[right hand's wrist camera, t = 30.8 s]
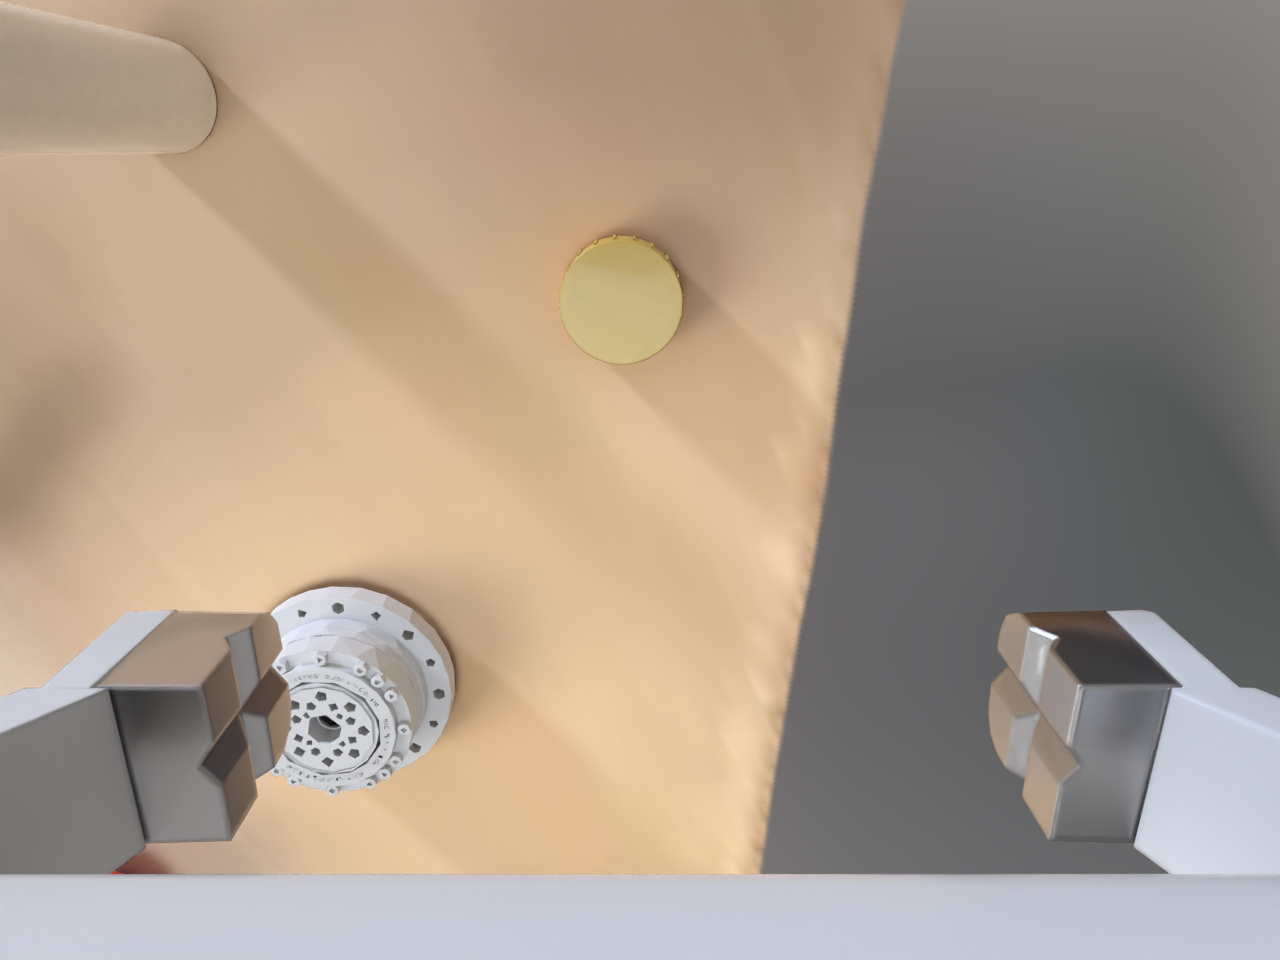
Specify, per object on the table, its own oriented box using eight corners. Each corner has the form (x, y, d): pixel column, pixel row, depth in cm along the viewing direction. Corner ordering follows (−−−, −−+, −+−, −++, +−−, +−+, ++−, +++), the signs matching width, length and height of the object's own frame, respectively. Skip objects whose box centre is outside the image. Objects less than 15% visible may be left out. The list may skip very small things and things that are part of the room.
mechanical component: (209, 669, 43) (364, 792, 46) (163, 725, 39) (337, 856, 42) (343, 542, 41) (499, 679, 44) (309, 587, 37) (484, 735, 39)
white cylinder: (239, 100, 35) (-126, 56, 18) (173, 176, 36) (-229, 201, 19) (152, 12, 34) (-319, -120, 17) (87, 93, 35) (-419, 42, 18)
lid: (538, 305, 37) (532, 313, 36) (612, 208, 36) (610, 211, 34) (631, 378, 39) (631, 390, 37) (706, 287, 37) (710, 294, 35)
